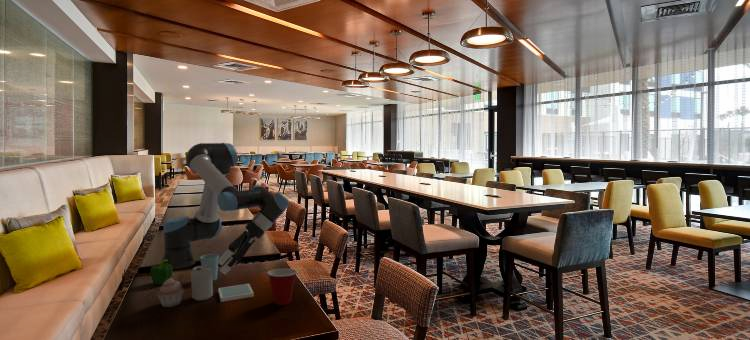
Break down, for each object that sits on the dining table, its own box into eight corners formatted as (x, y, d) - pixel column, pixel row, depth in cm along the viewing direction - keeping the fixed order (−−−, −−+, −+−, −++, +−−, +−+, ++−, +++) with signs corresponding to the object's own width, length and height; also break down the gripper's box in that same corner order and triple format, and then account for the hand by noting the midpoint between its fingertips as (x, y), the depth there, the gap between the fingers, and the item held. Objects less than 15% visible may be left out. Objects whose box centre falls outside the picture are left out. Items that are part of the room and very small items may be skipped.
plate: (218, 291, 165) (218, 287, 165) (249, 287, 170) (249, 283, 170) (220, 302, 154) (220, 297, 154) (253, 296, 159) (253, 292, 159)
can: (196, 294, 162) (194, 264, 161) (215, 293, 163) (214, 264, 162) (189, 301, 155) (187, 270, 154) (209, 301, 155) (208, 269, 155)
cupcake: (188, 298, 158) (187, 273, 157) (181, 308, 149) (180, 281, 148) (162, 300, 156) (161, 274, 156) (153, 310, 147) (152, 282, 147)
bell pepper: (150, 288, 170) (149, 264, 170) (151, 282, 178) (150, 259, 177) (172, 285, 174) (171, 261, 173) (173, 279, 181) (172, 257, 181)
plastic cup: (303, 298, 156) (302, 267, 155) (288, 309, 146) (287, 276, 145) (278, 295, 160) (277, 265, 159) (262, 306, 150) (261, 273, 149)
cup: (218, 275, 186) (217, 252, 185) (221, 280, 179) (220, 256, 178) (200, 278, 182) (199, 255, 181) (202, 283, 175) (201, 259, 174)
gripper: (271, 237, 156) (231, 282, 150) (260, 226, 178) (224, 265, 173) (256, 225, 153) (215, 270, 147) (246, 215, 175) (210, 254, 170)
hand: (220, 268), depth 160 cm, fingers open, 13 cm apart
